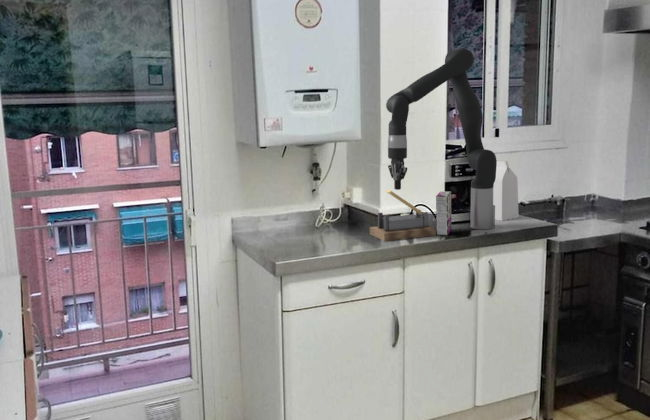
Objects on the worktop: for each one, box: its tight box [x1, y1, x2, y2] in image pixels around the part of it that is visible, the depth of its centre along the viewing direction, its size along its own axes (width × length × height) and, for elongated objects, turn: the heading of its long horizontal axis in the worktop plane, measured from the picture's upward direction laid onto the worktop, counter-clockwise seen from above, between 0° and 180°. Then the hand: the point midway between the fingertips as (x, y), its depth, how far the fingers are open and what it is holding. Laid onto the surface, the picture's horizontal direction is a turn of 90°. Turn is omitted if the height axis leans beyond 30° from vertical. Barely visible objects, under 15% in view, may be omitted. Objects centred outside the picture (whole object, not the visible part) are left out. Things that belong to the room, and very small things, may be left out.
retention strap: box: [385, 189, 424, 217], centre depth 247 cm, size 19×4×2 cm
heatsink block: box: [377, 209, 429, 231], centre depth 248 cm, size 19×8×6 cm, turn 110°
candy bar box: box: [435, 191, 452, 236], centre depth 249 cm, size 11×5×16 cm, turn 161°
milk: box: [493, 160, 520, 221], centre depth 276 cm, size 12×12×26 cm
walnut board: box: [369, 224, 437, 242], centre depth 248 cm, size 23×14×3 cm, turn 110°
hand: (397, 189), depth 245 cm, fingers closed
